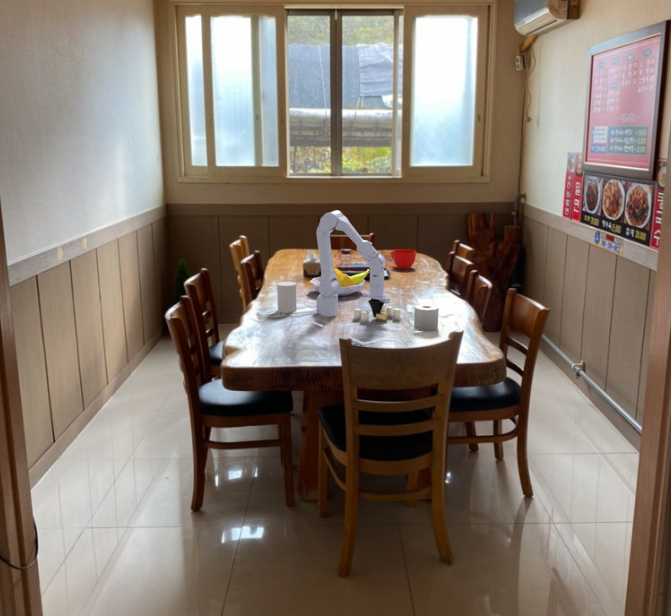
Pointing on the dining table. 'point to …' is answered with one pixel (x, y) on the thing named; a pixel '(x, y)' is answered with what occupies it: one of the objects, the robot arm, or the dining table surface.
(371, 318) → the field board
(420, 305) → the toilet tissue
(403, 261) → the ceramic cup
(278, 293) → the cup
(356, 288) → the fruit bowl
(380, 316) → the brass nut
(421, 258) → the dining table surface
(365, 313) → the spacers
